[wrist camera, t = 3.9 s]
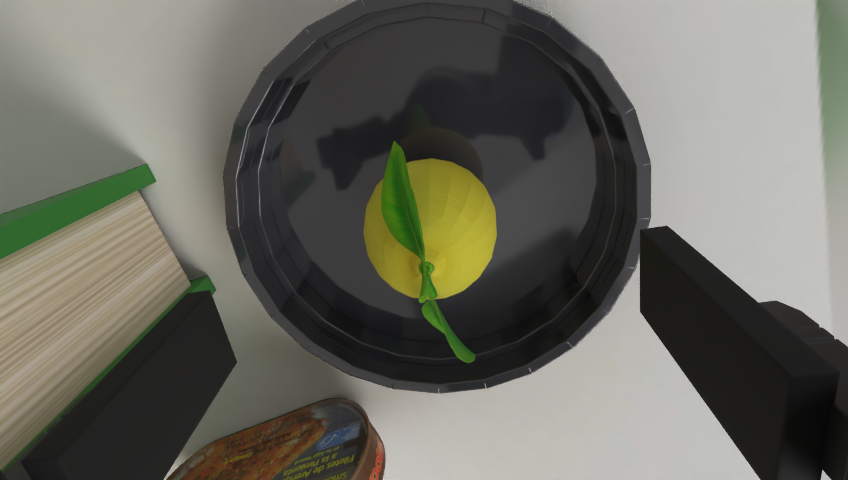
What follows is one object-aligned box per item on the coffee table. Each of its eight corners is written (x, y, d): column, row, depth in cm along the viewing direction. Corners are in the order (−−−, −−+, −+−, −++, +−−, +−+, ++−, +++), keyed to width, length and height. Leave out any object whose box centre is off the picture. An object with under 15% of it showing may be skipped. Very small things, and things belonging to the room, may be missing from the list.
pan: (619, -44, 20) (652, -60, 17) (625, 331, 27) (650, 371, 24) (202, 36, 22) (160, 36, 19) (306, 368, 29) (288, 410, 26)
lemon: (468, 277, 26) (480, 414, 16) (359, 243, 25) (308, 364, 16) (517, 156, 23) (566, 237, 14) (397, 115, 22) (364, 171, 13)
